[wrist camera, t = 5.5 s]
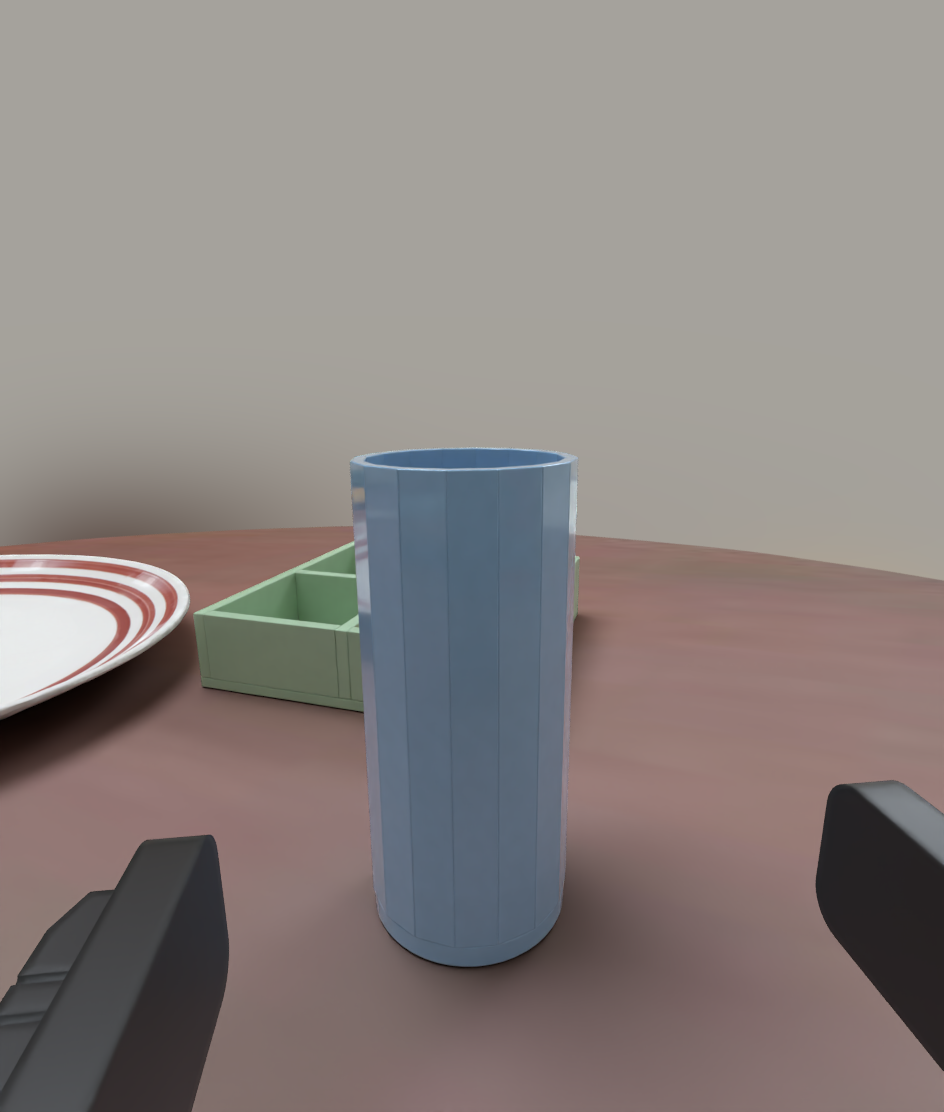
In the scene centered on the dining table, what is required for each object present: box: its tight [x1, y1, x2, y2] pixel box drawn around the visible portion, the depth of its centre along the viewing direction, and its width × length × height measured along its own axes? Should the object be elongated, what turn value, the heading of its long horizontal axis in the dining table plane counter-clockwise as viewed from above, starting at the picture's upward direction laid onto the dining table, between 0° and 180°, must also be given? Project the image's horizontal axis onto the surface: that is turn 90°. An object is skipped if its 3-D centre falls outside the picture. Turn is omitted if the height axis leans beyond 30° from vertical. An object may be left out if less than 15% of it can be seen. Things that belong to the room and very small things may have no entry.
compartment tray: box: [193, 541, 579, 712], centre depth 35 cm, size 15×15×4 cm
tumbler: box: [350, 447, 578, 967], centre depth 17 cm, size 5×5×12 cm
